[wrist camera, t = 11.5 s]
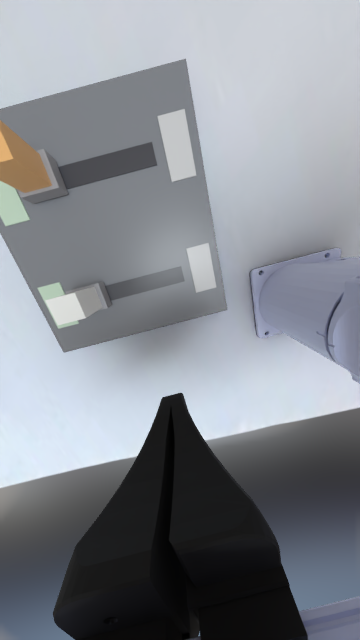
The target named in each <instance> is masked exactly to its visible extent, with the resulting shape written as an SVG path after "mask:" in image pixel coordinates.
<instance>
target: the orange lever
mask: <svg viewBox="0 0 360 640" xmlns="http://www.w3.org/2000/svg"><path fill="white" fill-rule="evenodd" d="M0 181H2V182H4V183H6V184H8V185H10V186H12V187H14V188H16V189H17V191H18V193H19V195H20V197H21V198H22V199H24V200H27V201H29V202H31V203H33V204H34V203H38V202H41V201H45V200H49V199H53V198H56V197H60V196H64V195H68V192H67V189H66V187H65V184H64V181H63V179H62V176H61V174H60V171H59V169H58V166H57V163H56V161H55V159H54V158H53V157H52V156H51V155H50V154H49V153H48V152H47V151H45V150H44V149H41V150H38V151H35V150H34V149H33V148H32V147H31V146H30V145H28V144H27V143H26V142H25V141H24V140H23V139H21V138H20V137H19V136H18V135H17V134H16V133H15V132H13V131H12V130H11V129H10V128H9V127H8V126H7V125H5V124H4V123H3V122H2V121H1V120H0Z"/></svg>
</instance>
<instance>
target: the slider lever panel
mask: <svg viewBox="0 0 360 640" xmlns="http://www.w3.org/2000/svg"><path fill="white" fill-rule="evenodd" d="M0 120H1V121H2V122H3V123H4V124H5V125H7V126H8V127H9V128H10V129H11V130H12V131H13V132H15V133H16V134H17V135H18V136H19V137H20V138H21V139H23V140H24V141H25V142H26V143H27V144H28V145H30V146H31V147H32V148H33V149H34V150H35V151H38V150H41V149H44V150H45V151H47V152H48V153H49V154H50V155H51V156H52V157H53V158H54V159H55V161H56V163H57V166H58V169H59V171H60V174H61V176H62V179H63V181H64V184H65V187H66V189H67V192H68V195H64V196H60V197H56V198H53V199H49V200H45V201H41V202H38V203H34V204H33V203H31V202H29V201H27V200H24V199H22V198H21V197H20V195H19V193H18V191H17V189H16V188H14V187H12V186H10V185H8V184H6V183H4V182H2V181H0V233H1V235H2V237H3V239H4V241H5V243H6V245H7V246H8V248H9V250H10V252H11V254H12V256H13V258H14V260H15V262H16V263H17V265H18V267H19V269H20V271H21V273H22V275H23V277H24V278H25V280H26V282H27V284H28V286H29V288H30V290H31V292H32V294H33V295H34V297H35V299H36V301H37V303H38V305H39V307H40V309H41V311H42V312H43V314H44V316H45V318H46V320H47V322H48V324H49V326H50V328H51V329H52V331H53V333H54V335H55V337H56V339H57V341H58V343H59V344H60V346H61V348H62V350H63V352H68V351H72V350H76V349H79V348H83V347H87V346H91V345H95V344H99V343H102V342H106V341H110V340H114V339H118V338H122V337H125V336H129V335H133V334H137V333H141V332H145V331H148V330H152V329H156V328H160V327H164V326H168V325H171V324H175V323H179V322H183V321H187V320H191V319H194V318H198V317H202V316H206V315H210V314H214V313H217V312H221V311H225V310H227V305H226V299H225V293H224V287H223V281H222V275H221V269H220V263H219V257H218V251H217V245H216V238H215V232H214V226H213V220H212V214H211V208H210V202H209V196H208V190H207V184H206V178H205V172H204V166H203V160H202V154H201V148H200V142H199V136H198V130H197V123H196V117H195V111H194V105H193V99H192V93H191V87H190V81H189V75H188V69H187V63H186V59H183V60H179V61H176V62H172V63H168V64H165V65H161V66H157V67H154V68H150V69H146V70H142V71H139V72H135V73H131V74H128V75H124V76H120V77H117V78H113V79H109V80H106V81H102V82H98V83H94V84H91V85H87V86H83V87H80V88H76V89H72V90H69V91H65V92H61V93H57V94H54V95H50V96H46V97H43V98H39V99H35V100H32V101H28V102H24V103H20V104H17V105H13V106H9V107H6V108H2V109H0ZM100 282H103V283H104V285H105V288H106V290H107V293H108V296H109V298H110V301H111V303H112V306H110V307H109V308H107V309H103V310H99V311H96V312H95V313H93V314H91V315H90V316H88V317H87V318H85V319H81V320H77V321H73V322H69V323H65V324H62V325H57V323H56V321H55V319H54V317H53V315H52V313H51V311H50V309H49V307H48V305H47V303H46V301H45V300H48V299H52V298H55V297H58V296H62V295H65V294H66V291H70V290H74V289H77V288H81V287H85V286H89V285H93V284H96V283H100Z"/></svg>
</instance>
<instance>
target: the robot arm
mask: <svg viewBox="0 0 360 640" xmlns="http://www.w3.org/2000/svg"><path fill="white" fill-rule="evenodd" d="M325 254H326V257H325ZM260 270H261V271H262V273H261V275H259V271H260ZM250 277H251V286H252V295H253V304H254V313H255V321H256V330H257V336H258V337H259V338H265V337H269V336H273V335H277V334H281V333H285V334H287V335H288V336H290V337H292V338H293V339H295V340H297V341H299V342H300V343H302V344H304V345H305V346H307V347H309V348H311V349H312V350H314V351H316V352H317V353H319V354H321V355H323V356H324V357H326V358H328V359H330V360H331V361H333V362H335V363H336V364H338V365H340V366H342V367H343V368H345V369H347V370H348V371H349V372H350V373H351V375H352V379H353V380H355V381H356V382H358V383H360V257H344V258H341V250H340V248H333V249H329V250H325V251H321V252H317V253H314V254H310V255H306V256H302V257H298V258H295V259H291V260H287V261H283V262H279V263H276V264H272V265H268V266H264V267H260V268H256V269H253V270H252V271H251V273H250ZM266 331H267V333H266V334H265V332H266ZM53 617H54V621H55V623H56V625H57V626H58V627H59V628H61V629H62V630H63V631H65V632H66V633H67V634H69V635H70V636H71V637H73V638H74V639H75V640H360V596H359V597H355V598H351V599H347V600H343V601H339V602H335V603H331V604H327V605H323V606H319V607H315V608H311V609H307V610H303V611H298V609H297V606H296V603H295V601H294V598H293V595H292V593H291V590H290V587H289V582H288V579H287V577H286V574H285V572H284V569H283V566H282V564H281V558H280V550H279V545H278V543H277V540H276V538H275V536H274V534H273V532H272V530H271V528H270V527H269V525H268V523H267V522H266V520H265V519H264V517H263V515H262V514H261V512H260V511H259V509H258V508H257V506H256V505H255V504H254V502H253V500H252V499H251V497H250V496H249V495H248V494H247V493H246V492H245V491H244V490H243V489H242V488H241V486H240V485H239V484H238V483H237V482H236V481H235V480H234V479H233V477H232V476H231V475H230V474H229V473H228V471H227V470H226V469H225V468H224V467H223V465H222V464H221V462H220V461H219V460H218V459H217V457H216V456H215V455H214V453H213V452H212V451H211V449H210V448H209V446H208V445H207V443H206V442H205V440H204V439H203V437H202V436H201V434H200V432H199V431H198V429H197V427H196V426H195V424H194V422H193V420H192V418H191V416H190V414H189V412H188V409H187V406H186V402H185V399H184V396H183V394H182V393H178V394H174V395H170V396H167V397H163V398H162V399H161V403H160V406H159V409H158V412H157V414H156V417H155V419H154V422H153V424H152V427H151V429H150V432H149V434H148V436H147V438H146V440H145V443H144V445H143V447H142V449H141V451H140V453H139V454H138V456H137V458H136V460H135V462H134V464H133V465H132V467H131V469H130V470H129V472H128V474H127V475H126V477H125V479H124V480H123V482H122V484H121V485H120V487H119V488H118V490H117V491H116V493H115V494H114V495H113V497H112V498H111V500H110V501H109V503H108V504H107V506H106V507H105V509H104V510H103V511H102V513H101V514H100V515H99V517H98V518H97V519H96V521H95V522H94V523H93V524H92V526H91V527H90V528H89V530H88V531H87V532H86V534H85V535H84V536H83V537H82V539H81V540H80V541H79V542H78V544H77V545H76V547H75V550H74V552H73V555H72V558H71V560H70V563H69V565H68V568H67V571H66V574H65V577H64V580H63V584H62V587H61V590H60V593H59V596H58V599H57V602H56V605H55V608H54V611H53ZM199 631H200V636H199V637H198V635H199Z"/></svg>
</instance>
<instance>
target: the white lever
mask: <svg viewBox="0 0 360 640" xmlns="http://www.w3.org/2000/svg"><path fill="white" fill-rule="evenodd" d="M45 301H46V303H47V305H48V307H49V309H50V311H51V313H52V315H53V317H54V319H55V321H56V323H57V325H62V324H65V323H69V322H73V321H77V320H81V319H85V318H87V317H88V316H90V315H91V314H93V313H95V312H96V311H99V310H103V309H107V308H109V307H110V306H112V303H111V301H110V298H109V296H108V293H107V290H106V288H105V285H104V283H103V282H100V283H96V284H93V285H89V286H85V287H81V288H77V289H74V290H70V291H66V294H65V295H62V296H58V297H55V298H52V299H48V300H45Z"/></svg>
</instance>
